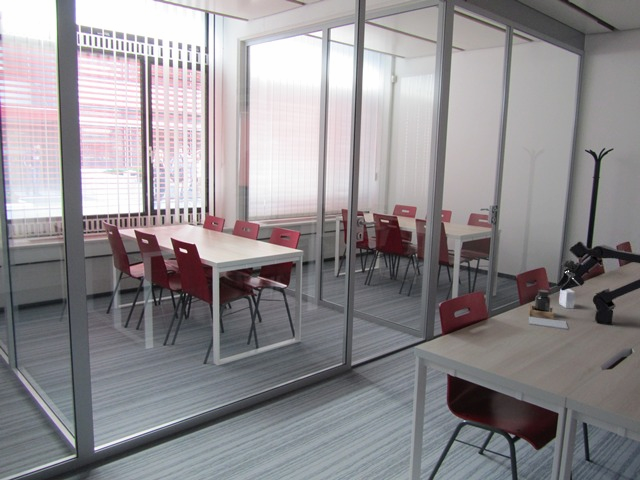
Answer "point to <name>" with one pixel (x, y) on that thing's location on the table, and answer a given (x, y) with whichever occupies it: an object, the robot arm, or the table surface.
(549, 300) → the supplement bottle
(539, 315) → the tan wooden bay
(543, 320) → the slate mat
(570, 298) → the medicine box
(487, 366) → the table surface
